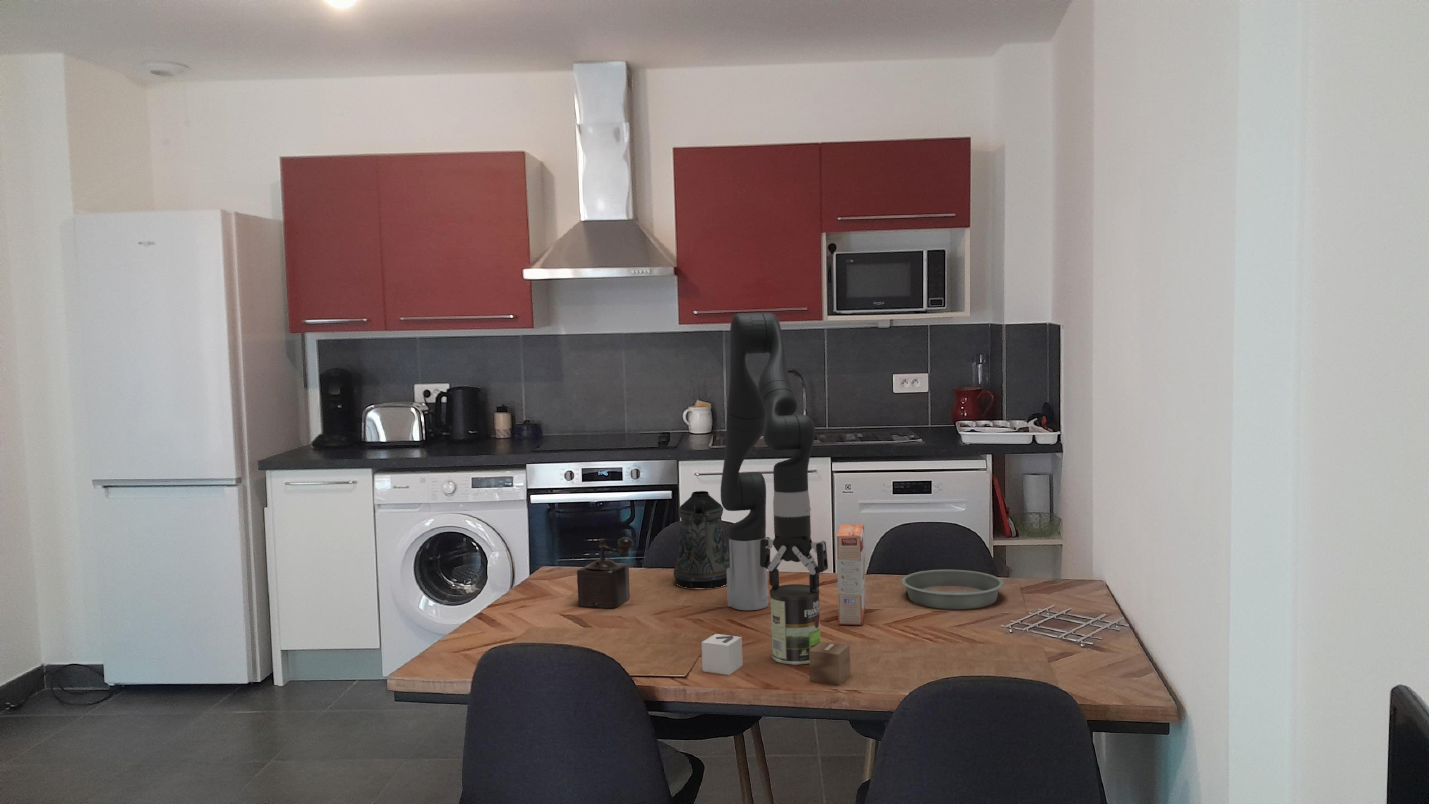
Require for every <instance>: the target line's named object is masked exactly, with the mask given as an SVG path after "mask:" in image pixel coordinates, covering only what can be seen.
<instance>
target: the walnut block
mask: <svg viewBox="0 0 1429 804" xmlns="http://www.w3.org/2000/svg"><path fill="white" fill-rule="evenodd" d="M848 675H850V676H851V652H850V645H849V644H845V643H844V644H842V643H834V642H826V641H820V643H818V644H817V645H816V646H815V647H813V648H812V649H811V650H809V680H810V681H809V682H817V683H821V684H822V683H823V684H828V683H832V684H831V685H835V684H840V683H841V682H842V683H844V681H845V680H847V679H848V678H847V676H848ZM846 678H847V679H846ZM844 679H845V680H844ZM843 680H844V681H843ZM842 683H841V684H842ZM841 684H840V685H841Z"/></svg>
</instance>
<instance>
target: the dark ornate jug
mask: <svg viewBox="0 0 1429 804" xmlns="http://www.w3.org/2000/svg"><path fill="white" fill-rule="evenodd" d="M677 513H678V516H679V518H680V528H679V537H678V549H677V557H676V564H675V566H674V569H673V571H672V572H673V573H672V574H673V577H674V580H675V584H678V585H680V586H682V587H687V588H715V587H721V586H723V585H726V584H727V568H729V567H730V561H729V549H728V546H727V541H726V535H725V531H724V525H723V522H722V521H723V520H722V516H723V513H724V507H723V505H722V503H719V502H718V501H717V500H716V499H714V498H713V497H712V496H711V495H710V493H709V492H708V491H706V490H699V491H698V490H697V491H692V493H691V496H690V497H689V498H688V499H687V500H686V501H684V502H683V503H681V505H680V506H679V508H678V510H677ZM721 588H722V587H721ZM715 589H716V588H715Z"/></svg>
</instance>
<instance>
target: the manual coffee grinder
mask: <svg viewBox="0 0 1429 804" xmlns="http://www.w3.org/2000/svg"><path fill="white" fill-rule="evenodd" d="M599 543H600V544H599V548H600V558H599V559H596V560H594V561H593V562H590V563H589V564H587V565H585V566H583V567H581V568H579V569H577V570H576V581H577V597H578V599H577V600H578V601H577V602H578V605H577V606H578V607H579V608H589V607H590V608H591V609H615V607H616V608H618V607H621V606H622V605H623V604H625V603H626V602H628V601H629V600H630V599H629V598H631V595H630V594H631V593H630V568H629V567H630V566H629V563H623V562H619V563H618V562H615V561H614V560H611V559H609V558H606V557H605V550H606V551H610V552H613V553H617V554H618V555H619V556H621V557H622V558H626V557H629V556H630V550H631V548H633V546H634V542H633V539H631V538H630V537H628V536H623V537H621V538H619V539H618V541H617V545H618V547H619V549H618V548H614V547H609V546H607V545H606V543H605V539H604V538H600V539H599ZM628 599H629V600H628ZM627 600H628V601H627ZM624 602H625V603H624ZM621 604H622V605H621Z"/></svg>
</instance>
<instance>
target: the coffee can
mask: <svg viewBox="0 0 1429 804" xmlns="http://www.w3.org/2000/svg"><path fill="white" fill-rule="evenodd" d="M768 593H769V596H770V599H769V600H770V623H771V624H770V625H771V627H770V630H771V648H772V649H771V652H772V653H771V658H772V659H773V661H774V662H777V663H780V664H783V665H784V664H785V665H793V666H795V665H808V664H809V665H810V663H809V650H811V649H812V648H813V647H815V646H816V645H817V644H818V643H820V642H821V620H820V619H821V618H820V617H821V616H820V615H821V614H820V589H819V588H818V589H817V591H816V592H814V593H812V592H810V584H804V583H803V584H802V583H801V584H799V583H798V584H797V583H796V584H795V583H794V584H793V583H792V584H783V585H779V587H778V588H776V589H772V588H770V589H769V591H768Z"/></svg>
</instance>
